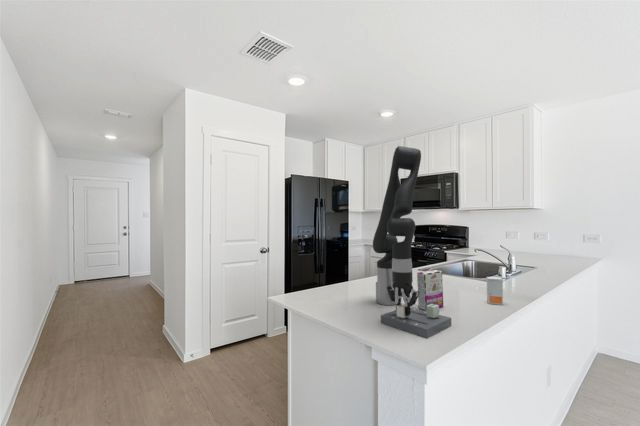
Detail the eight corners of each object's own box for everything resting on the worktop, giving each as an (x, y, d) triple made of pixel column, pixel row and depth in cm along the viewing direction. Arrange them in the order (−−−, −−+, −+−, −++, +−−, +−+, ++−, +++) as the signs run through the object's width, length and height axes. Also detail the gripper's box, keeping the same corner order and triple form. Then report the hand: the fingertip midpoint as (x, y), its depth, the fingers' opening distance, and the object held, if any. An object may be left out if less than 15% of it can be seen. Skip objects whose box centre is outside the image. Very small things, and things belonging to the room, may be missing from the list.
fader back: (426, 316, 115) (426, 305, 115) (431, 313, 118) (431, 303, 118) (433, 318, 113) (433, 307, 113) (439, 315, 115) (438, 305, 115)
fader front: (396, 316, 116) (396, 305, 116) (403, 313, 118) (402, 303, 118) (403, 318, 114) (403, 307, 114) (409, 315, 116) (409, 305, 116)
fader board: (380, 322, 119) (380, 315, 119) (406, 313, 130) (406, 306, 130) (427, 338, 103) (426, 329, 103) (451, 325, 114) (451, 317, 114)
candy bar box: (435, 304, 141) (434, 269, 141) (443, 307, 137) (442, 271, 137) (417, 308, 136) (416, 271, 136) (426, 311, 132) (425, 273, 132)
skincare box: (488, 304, 140) (487, 278, 140) (487, 301, 144) (486, 276, 144) (503, 305, 137) (502, 279, 138) (501, 302, 141) (501, 277, 141)
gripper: (423, 270, 113) (425, 316, 113) (393, 266, 124) (394, 308, 124) (412, 273, 108) (413, 321, 108) (381, 268, 119) (382, 312, 119)
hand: (403, 314), depth 116 cm, fingers closed on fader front, 3 cm apart
